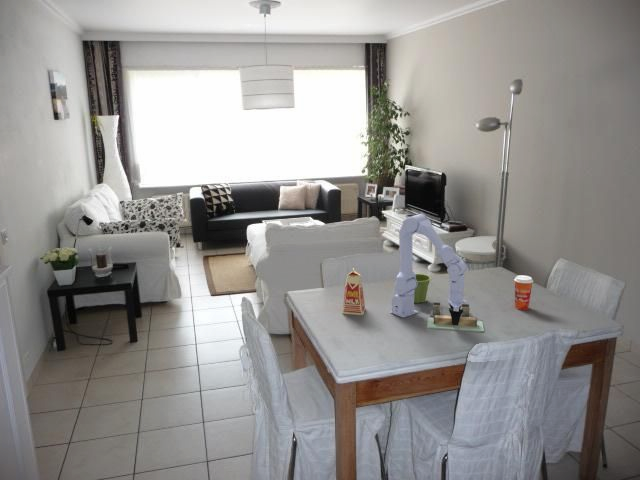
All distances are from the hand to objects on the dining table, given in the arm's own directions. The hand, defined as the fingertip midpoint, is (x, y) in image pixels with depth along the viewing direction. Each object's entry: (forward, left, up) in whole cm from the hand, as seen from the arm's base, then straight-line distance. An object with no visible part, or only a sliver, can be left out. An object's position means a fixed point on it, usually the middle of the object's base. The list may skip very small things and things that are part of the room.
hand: (455, 321), depth 216 cm
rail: (0, 0, -1) cm, 1 cm away
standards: (+7, +8, -2) cm, 11 cm away
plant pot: (+10, +30, -2) cm, 32 cm away
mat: (0, 0, -2) cm, 2 cm away
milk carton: (-21, +39, -2) cm, 44 cm away
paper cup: (+38, -6, -2) cm, 39 cm away
